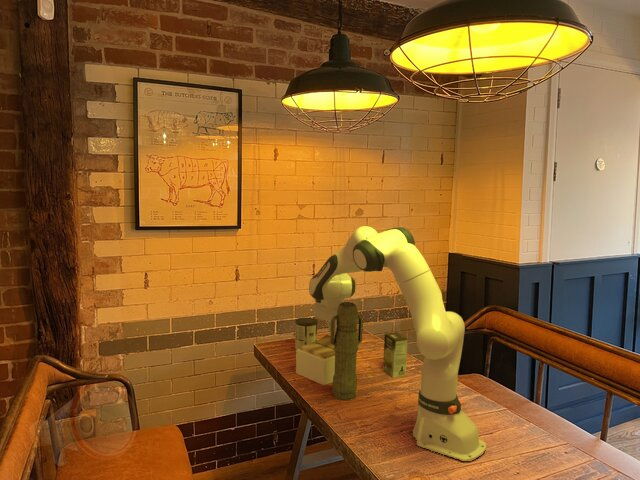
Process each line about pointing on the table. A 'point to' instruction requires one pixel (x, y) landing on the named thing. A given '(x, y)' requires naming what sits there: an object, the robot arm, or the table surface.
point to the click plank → (325, 341)
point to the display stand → (315, 367)
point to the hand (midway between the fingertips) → (332, 332)
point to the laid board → (318, 350)
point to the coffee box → (395, 354)
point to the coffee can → (305, 331)
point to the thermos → (346, 350)
